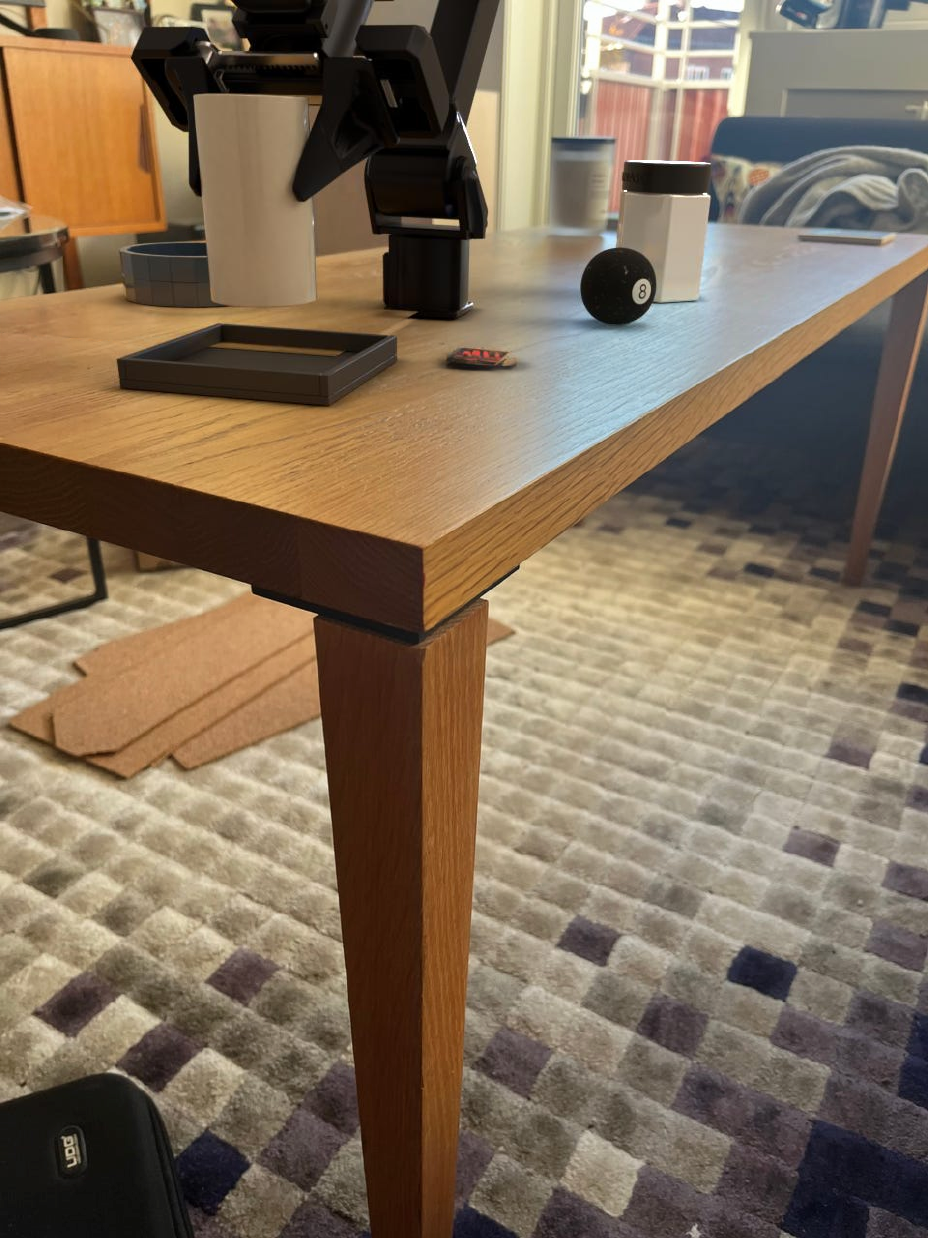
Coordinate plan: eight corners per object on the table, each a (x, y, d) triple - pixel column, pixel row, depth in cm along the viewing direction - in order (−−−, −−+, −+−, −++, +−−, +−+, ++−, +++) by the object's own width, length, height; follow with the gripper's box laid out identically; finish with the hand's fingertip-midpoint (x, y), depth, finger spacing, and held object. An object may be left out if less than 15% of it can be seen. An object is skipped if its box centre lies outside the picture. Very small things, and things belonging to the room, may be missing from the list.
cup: (256, 288, 65) (243, 96, 60) (338, 297, 62) (331, 97, 57) (188, 300, 60) (168, 92, 55) (273, 311, 57) (260, 93, 52)
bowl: (291, 297, 92) (288, 245, 90) (233, 318, 81) (228, 259, 79) (170, 290, 94) (165, 239, 92) (98, 309, 83) (90, 252, 81)
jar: (608, 288, 102) (618, 159, 97) (688, 290, 102) (703, 161, 97) (616, 301, 94) (628, 161, 89) (703, 304, 94) (720, 164, 89)
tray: (397, 361, 67) (397, 335, 67) (328, 406, 56) (327, 375, 55) (219, 347, 70) (217, 322, 69) (119, 387, 59) (115, 358, 58)
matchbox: (445, 366, 65) (445, 358, 65) (448, 351, 70) (448, 344, 70) (516, 369, 65) (517, 361, 65) (515, 353, 70) (515, 347, 70)
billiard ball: (610, 333, 79) (617, 252, 76) (563, 321, 84) (568, 244, 81) (666, 327, 82) (675, 249, 79) (619, 316, 86) (625, 242, 84)
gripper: (130, -136, 57) (25, 74, 53) (433, -156, 52) (344, 77, 47) (218, 35, 67) (136, 223, 63) (479, 34, 62) (410, 240, 57)
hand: (245, 193), depth 57 cm, fingers closed on cup, 6 cm apart
